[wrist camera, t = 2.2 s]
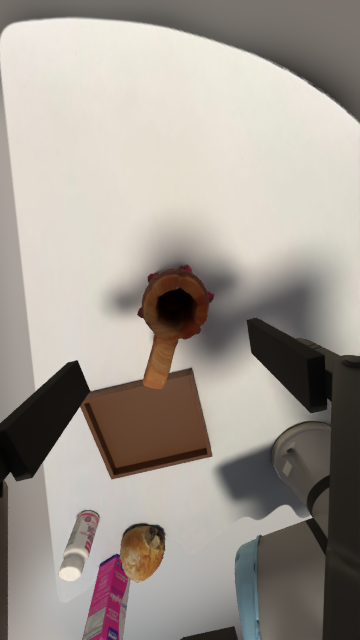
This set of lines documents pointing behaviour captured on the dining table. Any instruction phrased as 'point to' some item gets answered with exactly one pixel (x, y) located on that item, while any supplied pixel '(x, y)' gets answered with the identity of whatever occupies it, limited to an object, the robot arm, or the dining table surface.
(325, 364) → the robot arm
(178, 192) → the dining table surface
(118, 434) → the tray
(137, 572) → the bread roll
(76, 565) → the pill bottle
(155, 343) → the mug
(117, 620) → the supplement box
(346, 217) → the dining table surface
